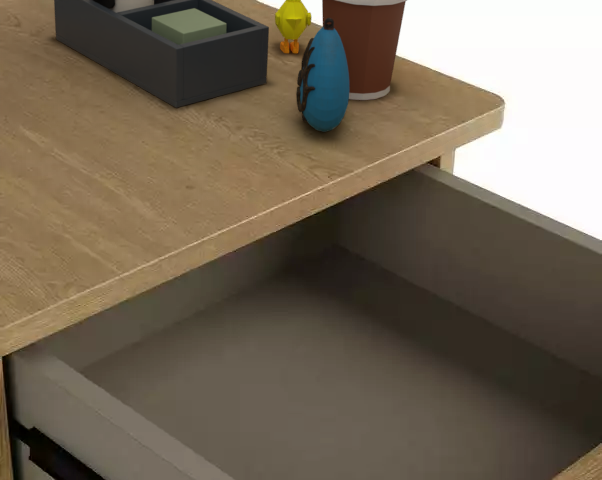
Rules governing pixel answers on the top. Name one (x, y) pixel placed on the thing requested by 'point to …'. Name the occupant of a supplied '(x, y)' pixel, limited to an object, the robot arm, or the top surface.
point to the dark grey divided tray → (167, 48)
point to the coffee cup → (367, 42)
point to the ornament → (323, 80)
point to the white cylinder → (130, 4)
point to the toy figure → (292, 23)
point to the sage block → (187, 26)
